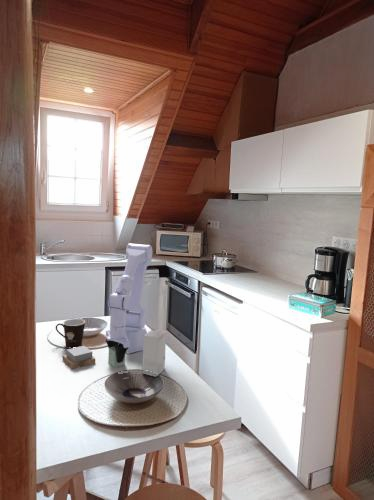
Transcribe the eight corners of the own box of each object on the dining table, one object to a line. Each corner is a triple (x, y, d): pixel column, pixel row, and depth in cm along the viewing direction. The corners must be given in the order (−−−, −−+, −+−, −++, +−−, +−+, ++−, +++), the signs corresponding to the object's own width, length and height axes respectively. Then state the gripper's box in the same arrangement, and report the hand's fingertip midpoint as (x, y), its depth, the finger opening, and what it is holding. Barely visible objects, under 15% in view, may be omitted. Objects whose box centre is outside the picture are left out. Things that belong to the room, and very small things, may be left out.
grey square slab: (83, 351, 143) (83, 345, 143) (92, 358, 138) (92, 351, 138) (66, 355, 139) (66, 349, 138) (74, 362, 134) (74, 356, 133)
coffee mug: (88, 344, 155) (89, 322, 154) (72, 351, 148) (73, 327, 146) (70, 338, 161) (70, 316, 160) (53, 343, 154) (54, 320, 152)
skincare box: (156, 378, 129) (158, 338, 127) (140, 375, 131) (142, 335, 129) (165, 368, 137) (167, 330, 135) (150, 365, 139) (152, 327, 137)
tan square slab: (85, 356, 145) (85, 350, 145) (95, 364, 138) (95, 358, 138) (62, 361, 140) (62, 355, 139) (72, 370, 133) (72, 364, 132)
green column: (118, 360, 142) (119, 345, 141) (124, 364, 139) (125, 349, 138) (108, 362, 139) (108, 347, 139) (114, 367, 136) (114, 351, 135)
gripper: (99, 321, 140) (98, 354, 142) (118, 332, 129) (116, 369, 131) (115, 318, 145) (114, 351, 146) (135, 329, 134) (133, 364, 135)
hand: (116, 359), depth 139 cm, fingers closed on green column, 4 cm apart
